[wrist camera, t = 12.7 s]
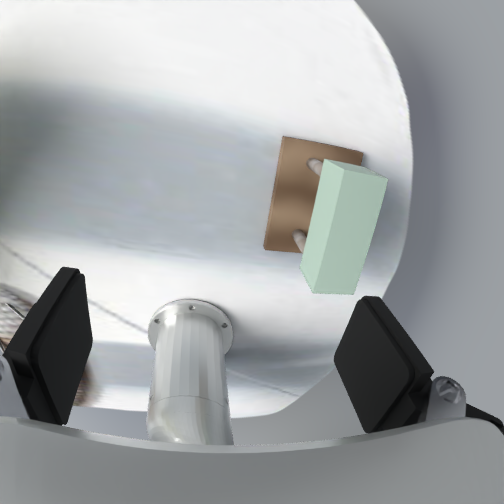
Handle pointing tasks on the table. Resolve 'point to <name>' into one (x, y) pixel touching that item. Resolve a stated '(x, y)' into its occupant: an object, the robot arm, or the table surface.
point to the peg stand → (299, 190)
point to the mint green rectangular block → (341, 227)
